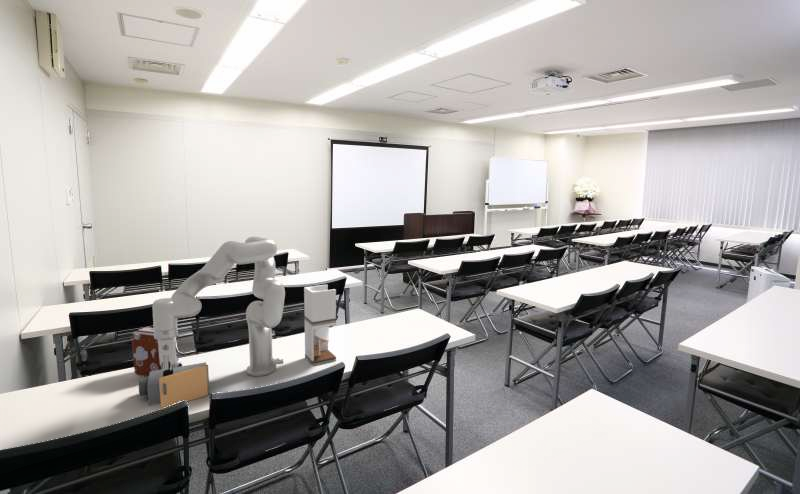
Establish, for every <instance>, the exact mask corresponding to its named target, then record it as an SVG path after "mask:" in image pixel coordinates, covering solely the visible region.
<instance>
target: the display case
mask: <svg viewBox="0 0 800 494" xmlns="http://www.w3.org/2000/svg"><path fill="white" fill-rule="evenodd" d="M328 287H329V285H328V284H320V285H312V286H304V288H303V292H304V293H303V298H304V299H303V300H304V301H303V302H304V306H303V307H304V311H303V312H304V358H305V359H306V360H307V361H308V363H309V364H310V365H311V367H315V366H321V365H324V364H328V363H333V362H336V361H337V357H336V355H334V354H333V352H331V351H330V350H329V342H330V327H334V326H336V325H337V289H335V288H333V289H328Z"/></svg>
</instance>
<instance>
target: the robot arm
mask: <svg viewBox="0 0 800 494" xmlns="http://www.w3.org/2000/svg"><path fill="white" fill-rule="evenodd" d="M277 251H278V246H277V244H276V242H275V241H274V240H272V239H270V238H264V237H260V236H249V237H247V238H246V240H245V242H240V241H235V240H227V241H226V242H224V243H223V244H221V246H220V247H219V248H218V249H217V250H216V252H215V253H214V254H213V255H212V257H210V258H209V260H207V262H206V263H205V265H204V266H203V267H202V268H201V269H199V270H198V271H197V272H195V273H194V274H192V275H191V276H189V277H187V279H185V280H184V281H183V282H182V283H181V284H180V285H179V286H178V287H177V289H176V290H175V291H174V292H173V293H172V295H171V297H170V298H169V297H167V298H166V297H164V298H159V299H156V300H154V301H153V303H152V305H151V306H152V321H153V322H152V323H153V326H152V327H153V328H154V339H157V340H158V348H159V360H160V365H161V366H162V365H163V377H164V376H168V375H172V374H173V368H172V364H173V365H174V364H175V363H176V357H177V354H176V348H177V345H176V343H177V342H176V337H178V335H179V334H178V333H179V329H178V318H191V317H194V316H197V315H198V314H199V313H200V312H201V310H202V302H201V300H200V299H199V298H197V297H196V296H197V295H199V293H200V292H201V291H202V290H203V289H205V288H207V287H209V286H212V285H215V284H217V283H220V282H222V281H223V280H224V278H225V277H226V275H227V274H228V273H229V272H230V271H231V270H232V268H233V267H234V266H235V265H247V264H254V272H253V273H254V274H253V275H254V276H253V281H252V287H251V289H252V290H251V291H252V293H253V295H254V297H256V298H258V299H260V300H254V301H252V302H250V303H249V305H248V306H247V308H246V310H245V315H246V316H245V317H246V322H247V323H246V324H247V327H248V345H249V347H248V348H249V350H248V351H249V366H247V367H246V369H245V370H246V374H247V375H249V376H250V377H251V376H252V377H262V376H263V377H264V376H268V375H270V374H273V373H274V372H275V371H276V370H277V366H278V365H282V364H284V359H280V358H279V357H278V358H273V338H272V337H273V333H272V332H273V331H272V329H273V328H274V329H275V328H276V327H277V326H278V325H279V324H280V322H281V321H282V318H283V311H284V305H285V297H286V290H285V286H284V284H283V283H282V282H281V281H279V280H276V279H275V278H276V277H275V276H276V260H275V256H276V254H277ZM262 300H263V301H262Z"/></svg>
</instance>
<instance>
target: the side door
mask: <svg viewBox="0 0 800 494" xmlns="http://www.w3.org/2000/svg"><path fill="white" fill-rule="evenodd" d="M209 378H210V377H209V364H206V365H204V366H200V367H196V368H193V369H189V370H186V371H182V372H179V373H175V374H172V375H168V376H164V377H161V378H159V387H160V401H161V403H160V409H161V408H164V407H167V406H169V405H172V404H174V403H177V402H179V401H183V400H187V402H191V401H192V400H196V399H199V398H202V397H205V396H208V395H210V379H209Z"/></svg>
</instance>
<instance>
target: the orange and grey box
mask: <svg viewBox="0 0 800 494" xmlns="http://www.w3.org/2000/svg"><path fill="white" fill-rule="evenodd" d="M204 365H207V362H206V361H205V362H201V363H200V362H199V363H193V364H188V365H186V364H185V365H182V366H180V367H174V368H173V374H175V373H179V372H182V371H186V370H189V369H193V368H196V367H200V366H204ZM161 377H163V369H162V370H156V371H150V374H149V377H147V378H144V379H139V382H138V392H139V397H144V396H147V400H148V402H147V403H148V406H151V405H156V404H161V401H160V387H159V378H161Z"/></svg>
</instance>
